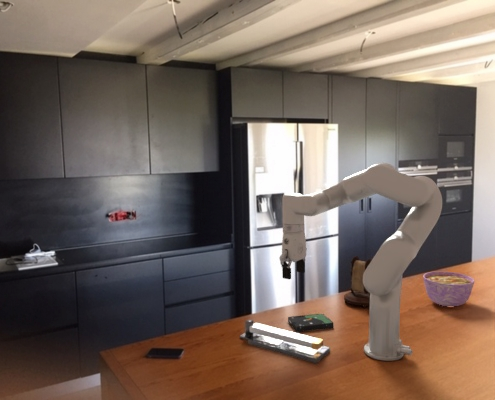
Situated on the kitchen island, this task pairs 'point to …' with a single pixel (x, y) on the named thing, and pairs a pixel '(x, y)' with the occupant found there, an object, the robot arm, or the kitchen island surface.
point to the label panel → (287, 347)
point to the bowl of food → (448, 287)
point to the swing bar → (282, 335)
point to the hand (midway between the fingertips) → (293, 275)
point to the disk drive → (310, 322)
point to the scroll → (358, 284)
